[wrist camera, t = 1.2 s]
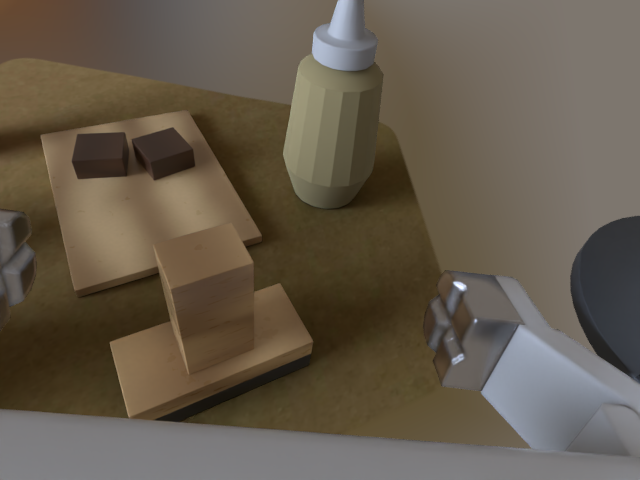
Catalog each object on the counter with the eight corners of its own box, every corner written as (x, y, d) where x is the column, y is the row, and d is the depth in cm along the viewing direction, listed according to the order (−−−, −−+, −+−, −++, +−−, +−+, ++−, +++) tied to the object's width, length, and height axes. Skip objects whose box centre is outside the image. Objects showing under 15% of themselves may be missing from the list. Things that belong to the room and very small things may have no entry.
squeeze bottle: (266, 200, 41) (271, -19, 28) (302, 154, 47) (320, -49, 34) (350, 230, 40) (396, 13, 27) (377, 178, 45) (427, -24, 32)
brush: (278, 308, 33) (285, 193, 26) (309, 365, 31) (328, 255, 23) (120, 366, 29) (69, 250, 21) (138, 439, 26) (88, 335, 18)
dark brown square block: (175, 144, 44) (173, 126, 43) (195, 166, 42) (193, 148, 41) (135, 157, 42) (131, 138, 41) (154, 180, 40) (150, 162, 39)
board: (188, 116, 49) (187, 109, 49) (262, 242, 38) (262, 235, 37) (42, 141, 44) (40, 134, 43) (77, 298, 32) (74, 291, 32)
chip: (129, 149, 43) (124, 131, 42) (127, 176, 40) (122, 158, 39) (82, 152, 42) (76, 133, 41) (77, 179, 40) (70, 160, 38)
